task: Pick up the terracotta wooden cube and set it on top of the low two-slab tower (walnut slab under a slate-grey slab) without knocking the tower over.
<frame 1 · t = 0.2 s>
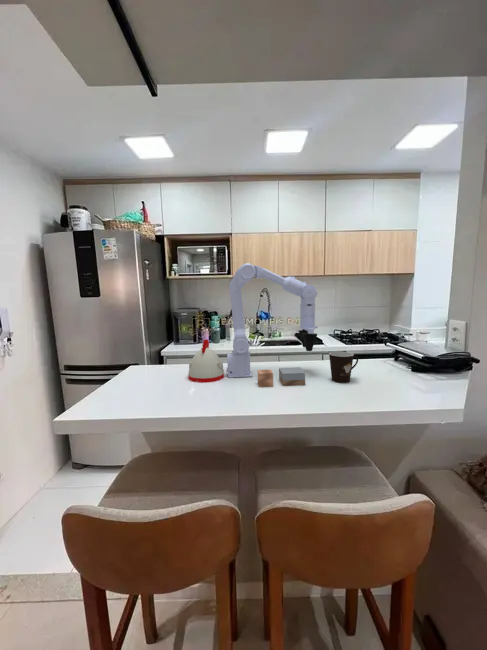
hand: (307, 349, 123), 10 cm above the table, tool pointing down, fingers open, 7 cm apart
coffee mug: (344, 380, 114), on the table
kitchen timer: (206, 377, 121), on the table
terracotta cube: (265, 385, 110), on the table
walnut slab: (291, 383, 113), on the table
slate slab: (291, 376, 112), point 2 cm above the table
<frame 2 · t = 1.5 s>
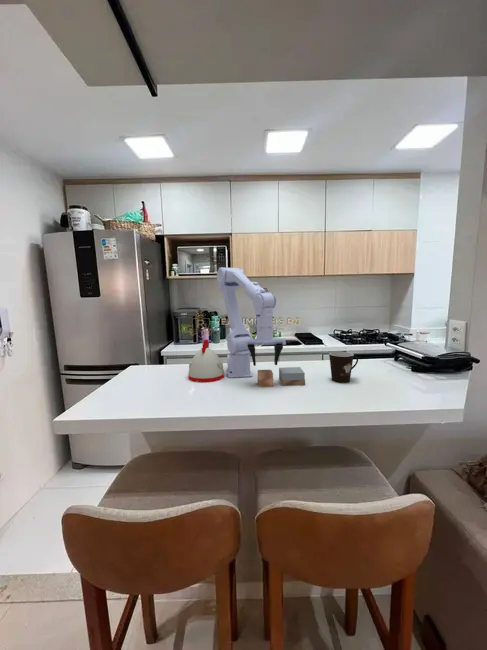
hand: (265, 364, 109), 7 cm above the table, tool pointing down, fingers open, 7 cm apart
walnut slab: (291, 383, 113), on the table, touching slate slab
slate slab: (291, 376, 113), point 2 cm above the table, touching walnut slab
everything else where it was.
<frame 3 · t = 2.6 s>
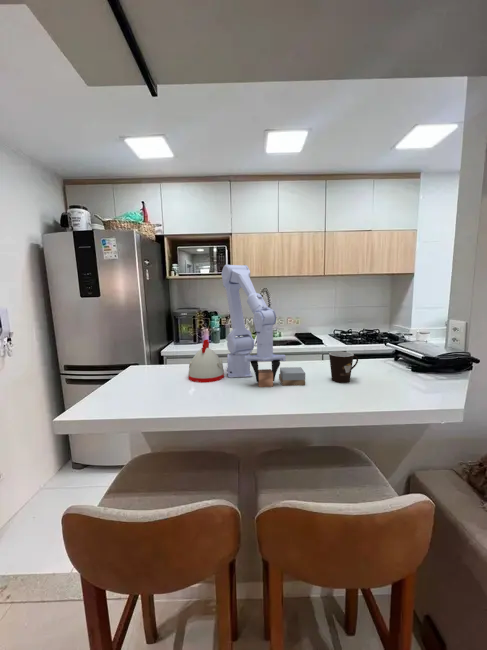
hand: (265, 380, 110), 1 cm above the table, tool pointing down, fingers closed on terracotta cube, 5 cm apart
terracotta cube: (265, 384, 110), on the table, touching gripper
everything else where it was.
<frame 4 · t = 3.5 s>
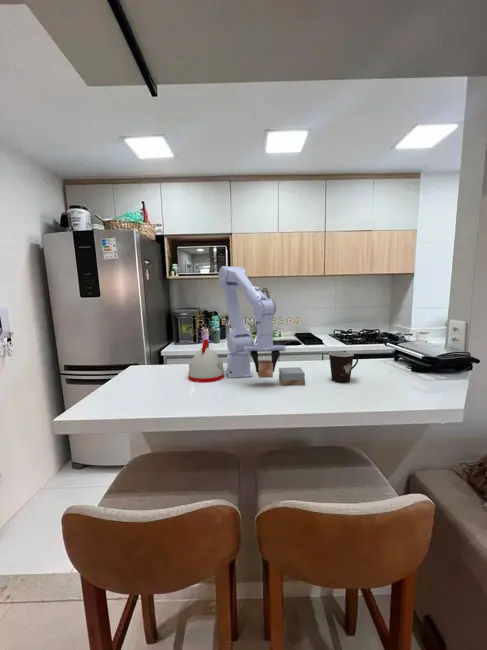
hand: (264, 371, 110), 5 cm above the table, tool pointing down, fingers closed on terracotta cube, 5 cm apart
terracotta cube: (265, 375, 110), point 3 cm above the table, touching gripper
everything else where it was.
when the fingers open (7 cm above the table, at t = 5.7 s): terracotta cube stays where it is, resting on slate slab.
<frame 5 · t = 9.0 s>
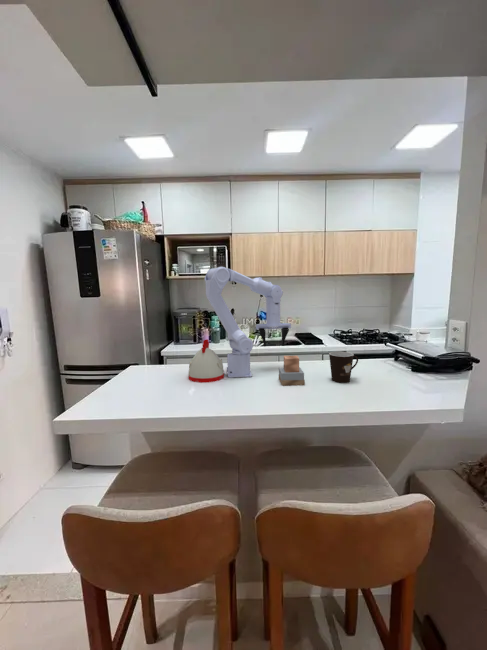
hand: (273, 345, 129), 10 cm above the table, tool pointing down, fingers open, 7 cm apart
terracotta cube: (291, 370, 112), point 4 cm above the table, touching slate slab
slate slab: (291, 376, 113), point 2 cm above the table, touching terracotta cube, walnut slab
everything else where it was.
at the end: terracotta cube 0.2 cm off-centre on the walnut slab, point 5.0 cm above the walnut slab's base; slate slab moved 0.6 cm from its start; terracotta cube tilted 1° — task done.
